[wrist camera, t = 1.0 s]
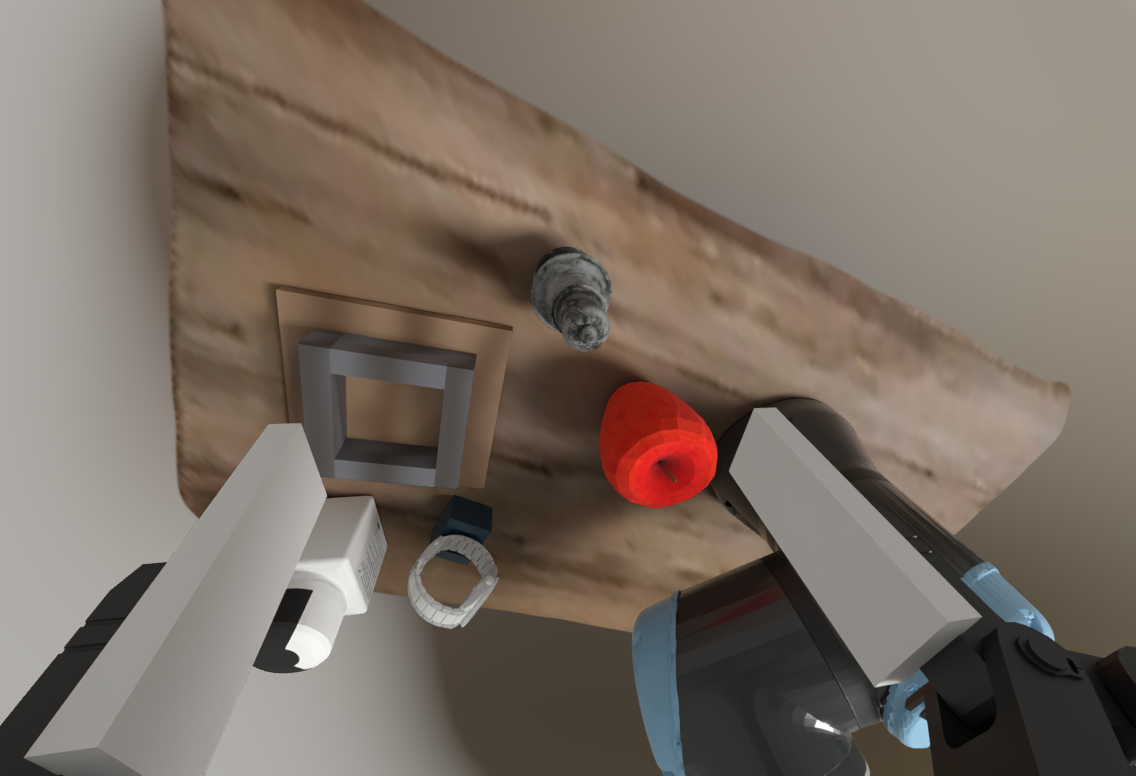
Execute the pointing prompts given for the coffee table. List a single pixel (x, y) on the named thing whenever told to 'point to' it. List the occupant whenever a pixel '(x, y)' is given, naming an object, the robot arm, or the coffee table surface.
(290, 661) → the container
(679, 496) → the apple
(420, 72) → the coffee table surface
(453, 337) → the holder
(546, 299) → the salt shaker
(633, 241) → the coffee table surface
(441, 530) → the watch
